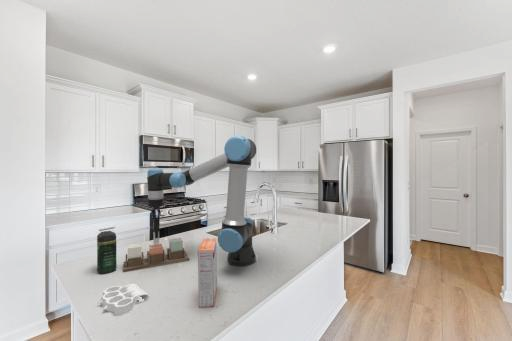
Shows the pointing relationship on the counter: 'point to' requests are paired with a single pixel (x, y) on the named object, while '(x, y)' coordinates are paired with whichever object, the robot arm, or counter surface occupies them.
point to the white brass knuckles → (122, 298)
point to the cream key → (134, 250)
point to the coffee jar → (106, 252)
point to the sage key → (175, 244)
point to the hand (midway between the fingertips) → (156, 243)
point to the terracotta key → (155, 249)
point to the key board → (154, 260)
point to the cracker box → (207, 272)
